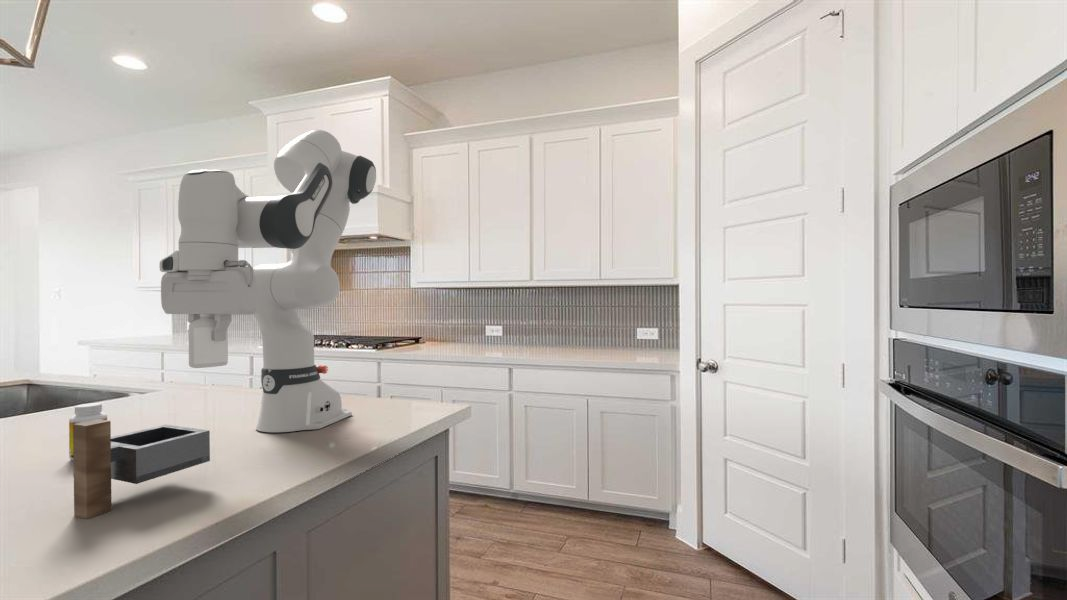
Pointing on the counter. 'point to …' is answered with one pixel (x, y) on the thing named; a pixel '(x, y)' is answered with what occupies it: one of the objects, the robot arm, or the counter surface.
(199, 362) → the eye dropper bottle
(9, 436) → the counter surface
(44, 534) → the counter surface
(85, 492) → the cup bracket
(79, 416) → the supplement bottle
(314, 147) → the robot arm
